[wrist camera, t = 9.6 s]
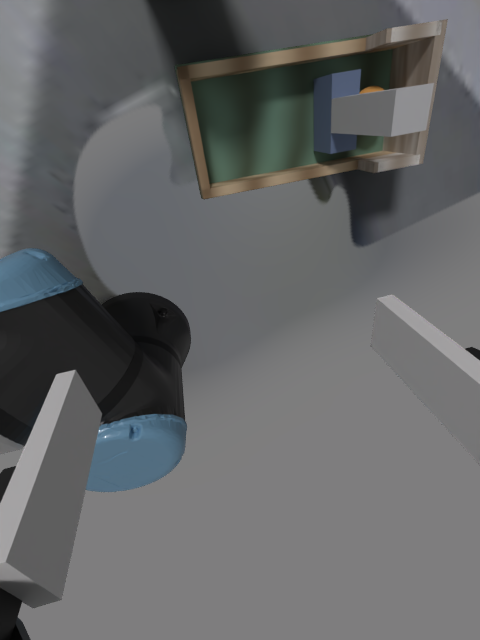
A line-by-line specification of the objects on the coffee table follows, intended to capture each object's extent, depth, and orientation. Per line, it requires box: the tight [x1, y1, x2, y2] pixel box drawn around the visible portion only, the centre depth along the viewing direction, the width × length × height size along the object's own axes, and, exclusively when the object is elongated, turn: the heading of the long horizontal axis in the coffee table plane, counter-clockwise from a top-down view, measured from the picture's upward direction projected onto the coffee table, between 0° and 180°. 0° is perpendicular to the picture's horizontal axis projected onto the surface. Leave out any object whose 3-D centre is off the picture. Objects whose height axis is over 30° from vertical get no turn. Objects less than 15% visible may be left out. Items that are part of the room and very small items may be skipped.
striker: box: [314, 69, 434, 154], centre depth 30 cm, size 3×7×15 cm, turn 8°
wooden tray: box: [175, 19, 448, 199], centre depth 34 cm, size 25×13×8 cm, turn 98°
